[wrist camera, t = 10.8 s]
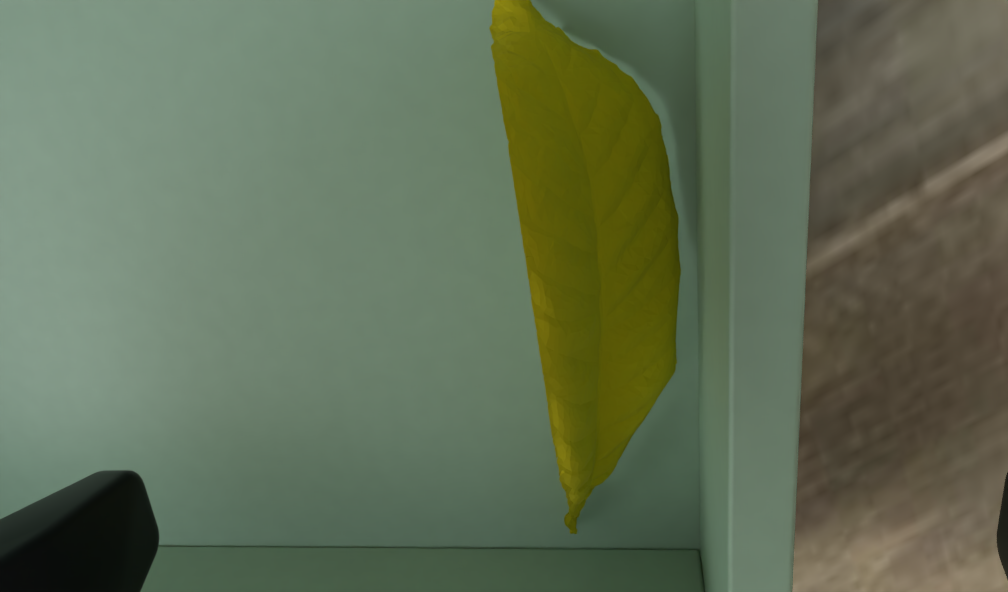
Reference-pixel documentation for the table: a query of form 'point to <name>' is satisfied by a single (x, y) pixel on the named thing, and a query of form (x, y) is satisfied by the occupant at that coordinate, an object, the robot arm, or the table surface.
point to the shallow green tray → (386, 293)
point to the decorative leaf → (589, 239)
